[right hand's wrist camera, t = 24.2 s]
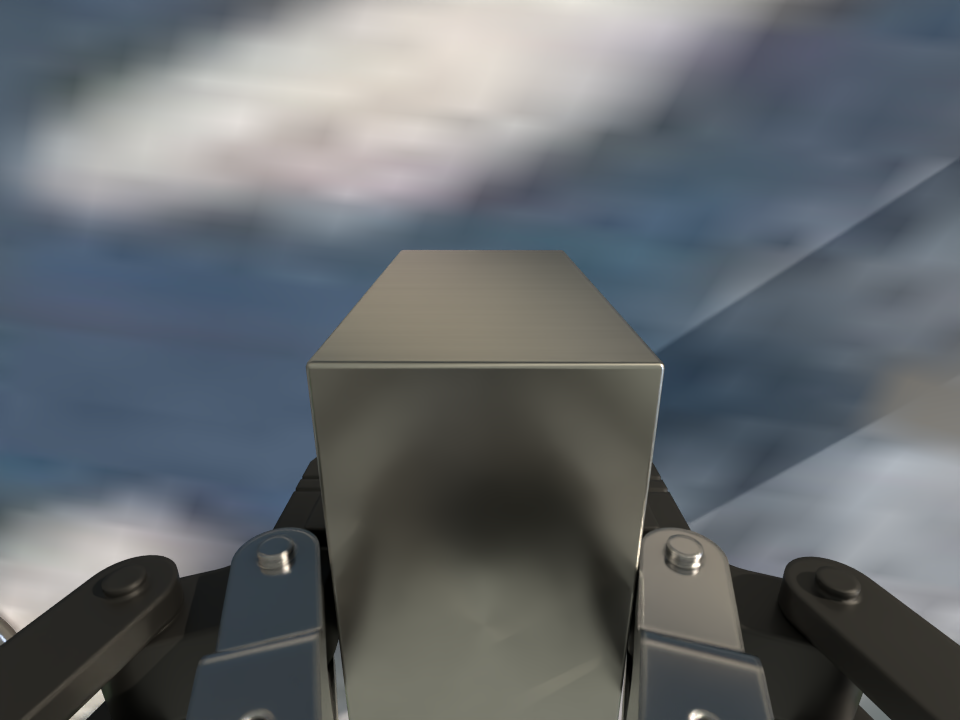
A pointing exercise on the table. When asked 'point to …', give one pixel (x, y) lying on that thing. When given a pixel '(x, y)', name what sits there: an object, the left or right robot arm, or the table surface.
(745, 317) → the table surface
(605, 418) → the block
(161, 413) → the table surface
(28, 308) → the table surface
